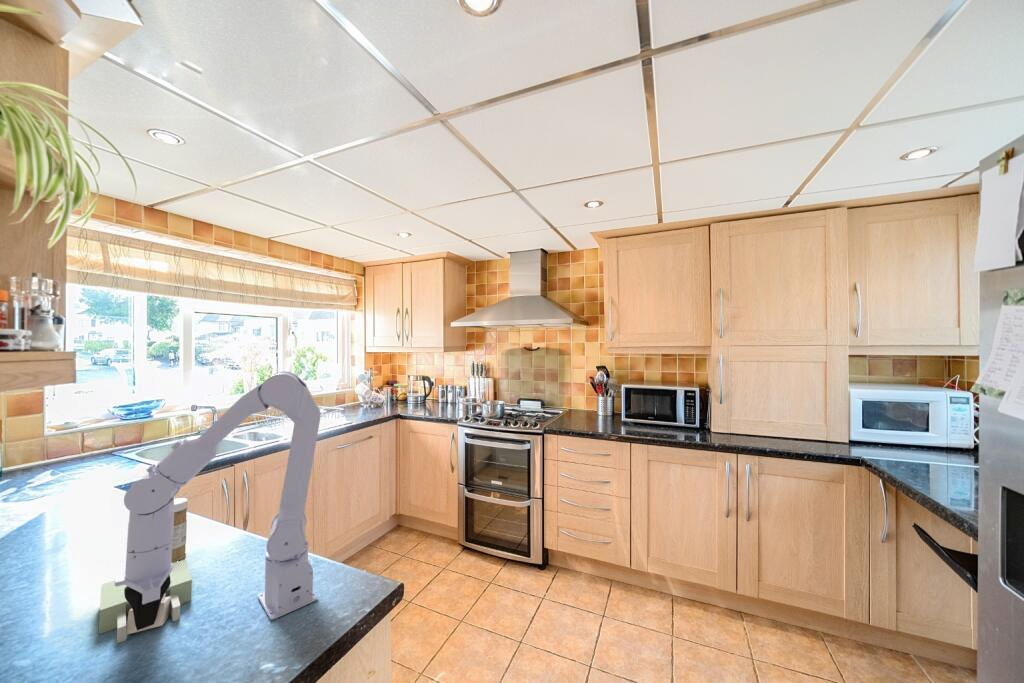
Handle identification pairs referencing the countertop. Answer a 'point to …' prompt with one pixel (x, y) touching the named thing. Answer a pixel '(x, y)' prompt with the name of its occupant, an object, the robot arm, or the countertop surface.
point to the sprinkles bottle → (179, 529)
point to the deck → (118, 607)
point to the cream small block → (160, 619)
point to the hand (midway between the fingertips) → (145, 625)
